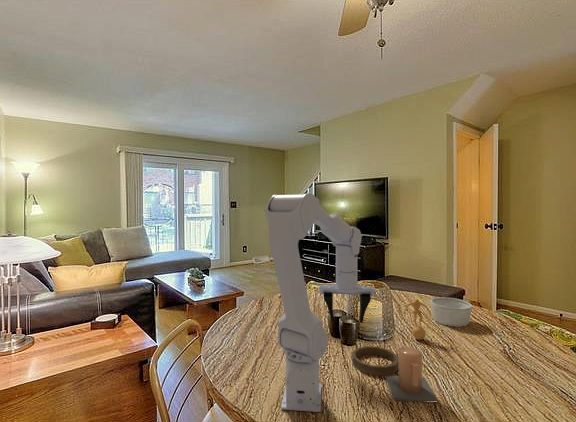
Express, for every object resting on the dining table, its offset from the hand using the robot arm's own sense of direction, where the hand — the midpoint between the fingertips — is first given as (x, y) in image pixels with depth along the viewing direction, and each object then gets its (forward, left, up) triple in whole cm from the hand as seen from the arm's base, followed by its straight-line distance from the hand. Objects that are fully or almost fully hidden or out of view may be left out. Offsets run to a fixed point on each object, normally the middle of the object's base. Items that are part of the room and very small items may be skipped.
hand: (346, 320), depth 84 cm
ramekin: (+32, -39, -11) cm, 52 cm away
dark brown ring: (-2, -7, -10) cm, 13 cm away
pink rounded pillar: (-13, -13, -10) cm, 21 cm away
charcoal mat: (-13, -13, -10) cm, 21 cm away
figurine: (+16, -23, -11) cm, 30 cm away
